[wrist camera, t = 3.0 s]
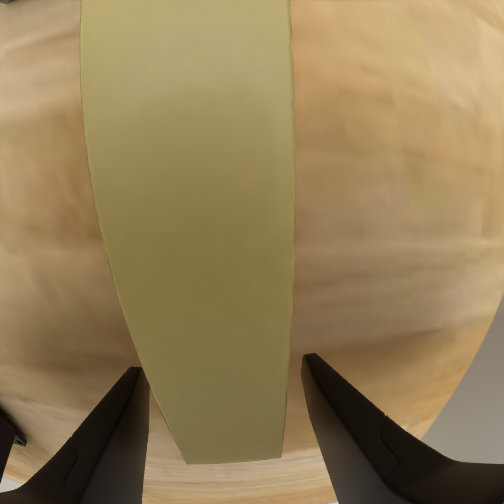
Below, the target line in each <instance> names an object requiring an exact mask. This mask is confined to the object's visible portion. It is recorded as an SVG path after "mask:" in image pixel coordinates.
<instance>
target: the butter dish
mask: <svg viewBox="0 0 504 504" xmlns="http://www.w3.org/2000/svg"><path fill="white" fill-rule="evenodd" d="M10 1H12V0H0V2H1V3H4V4H6V3H8V2H10Z"/></svg>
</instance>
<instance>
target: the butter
mask: <svg viewBox="0 0 504 504" xmlns="http://www.w3.org/2000/svg"><path fill="white" fill-rule="evenodd" d="M80 83H81V101H82V114H83V125H84V134H85V143H86V151H87V158H88V165H89V172H90V178H91V184H92V190H93V196H94V201H95V206H96V211H97V216H98V221H99V226H100V230H101V235H102V239H103V243H104V247H105V251H106V255H107V259H108V263H109V267H110V271H111V274H112V278H113V282H114V285H115V288H116V292H117V295H118V299H119V302H120V305H121V308H122V311H123V315H124V318H125V321H126V324H127V327H128V330H129V333H130V335H131V338H132V341H133V344H134V347H135V349H136V352H137V355H138V357H139V360H140V363H141V365H142V368H143V370H144V373H145V375H146V378H147V380H148V383H149V385H150V388H151V390H152V392H153V395H154V397H155V399H156V402H157V404H158V406H159V408H160V411H161V413H162V415H163V417H164V419H165V422H166V424H167V426H168V428H169V430H170V432H171V434H172V436H173V438H174V440H175V442H176V444H177V446H178V448H179V450H180V452H181V454H182V456H183V458H184V460H185V461H186V463H187V464H220V463H236V462H248V461H258V460H266V459H274V458H280V457H282V451H283V441H284V430H285V418H286V406H287V392H288V378H289V363H290V346H291V328H292V306H293V281H294V247H295V105H294V73H293V49H292V30H291V13H290V0H82V2H81V18H80Z"/></svg>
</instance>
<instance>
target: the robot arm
mask: <svg viewBox="0 0 504 504" xmlns="http://www.w3.org/2000/svg"><path fill="white" fill-rule="evenodd" d="M301 378H302V383H303V388H304V393H305V398H306V403H307V408H308V413H309V417H310V420H311V423H312V426H313V429H314V432H315V435H316V438H317V441H318V444H319V447H320V450H321V453H322V456H323V458H324V461H325V464H326V467H327V470H328V473H329V476H330V479H331V482H332V485H333V488H334V491H335V494H336V497H337V500H338V502H339V504H504V464H484V463H467V462H459V461H455V460H452V459H450V458H448V457H446V456H444V455H442V454H441V453H439V452H437V451H436V450H434V449H432V448H431V447H429V446H428V445H426V444H424V443H423V442H421V441H420V440H418V439H417V438H415V437H414V436H412V435H411V434H410V433H408V432H407V431H405V430H404V429H403V428H401V427H400V426H399V425H398V424H396V423H395V422H394V421H393V420H392V419H390V418H389V417H388V416H387V415H386V416H385V414H384V413H383V412H382V411H381V410H380V409H379V408H377V407H376V406H375V405H374V404H373V403H372V402H370V401H369V400H368V399H367V398H366V397H365V396H364V395H362V394H361V393H360V392H359V391H358V390H357V389H356V388H354V387H353V386H352V385H351V384H350V383H349V382H348V381H346V380H345V379H344V378H343V377H342V376H341V375H340V374H339V373H337V372H336V371H335V370H334V369H333V368H332V367H331V366H330V365H329V364H327V363H326V362H325V361H324V360H323V359H322V358H321V357H320V356H319V355H317V354H316V353H311V354H305V355H303V358H302V367H301ZM149 395H150V387H149V383H148V380H147V378H146V375H145V373H144V370H143V368H142V367H130V368H128V370H127V371H126V372H125V373H124V374H123V375H122V377H121V378H120V379H119V380H118V381H117V382H116V384H115V385H114V386H113V387H112V388H111V389H110V391H109V392H108V393H107V394H106V395H105V396H104V398H103V399H102V400H101V401H100V402H99V404H98V405H97V406H96V407H95V408H94V409H93V411H92V412H91V413H90V414H89V415H88V417H87V418H86V419H85V420H84V421H83V423H82V424H81V425H80V426H79V427H78V429H77V430H76V431H75V432H74V433H73V435H72V437H70V438H69V439H68V440H67V442H66V443H65V444H64V445H63V446H62V447H61V449H60V450H59V451H58V452H57V453H56V454H55V455H54V456H53V457H52V458H51V459H50V460H49V461H48V462H47V463H46V464H45V465H44V466H43V467H42V468H41V469H40V470H39V471H38V472H37V473H36V474H35V475H34V476H33V477H31V478H30V479H29V480H28V481H27V482H26V483H25V484H24V485H22V486H21V487H19V488H17V489H15V490H12V491H7V492H2V493H0V504H142V492H143V480H144V470H145V460H146V451H147V442H148V434H149ZM13 443H14V444H18V445H21V446H26V444H27V439H26V438H25V437H24V436H23V435H22V434H21V433H20V432H19V431H18V430H17V429H16V428H15V426H14V425H13V424H12V423H11V422H10V421H9V420H8V418H7V417H6V416H5V415H4V414H3V413H2V411H1V410H0V483H1V479H2V476H3V472H4V469H5V466H6V463H7V460H8V457H9V453H10V451H11V448H12V445H13Z"/></svg>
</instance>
